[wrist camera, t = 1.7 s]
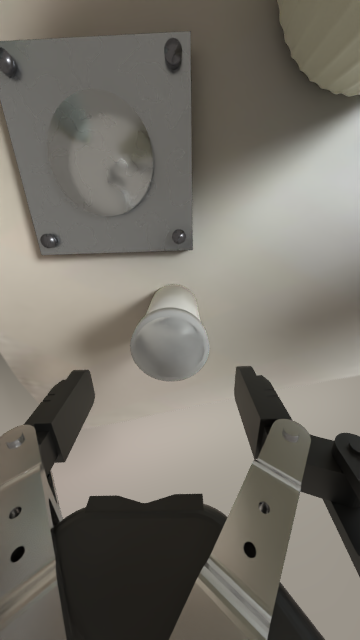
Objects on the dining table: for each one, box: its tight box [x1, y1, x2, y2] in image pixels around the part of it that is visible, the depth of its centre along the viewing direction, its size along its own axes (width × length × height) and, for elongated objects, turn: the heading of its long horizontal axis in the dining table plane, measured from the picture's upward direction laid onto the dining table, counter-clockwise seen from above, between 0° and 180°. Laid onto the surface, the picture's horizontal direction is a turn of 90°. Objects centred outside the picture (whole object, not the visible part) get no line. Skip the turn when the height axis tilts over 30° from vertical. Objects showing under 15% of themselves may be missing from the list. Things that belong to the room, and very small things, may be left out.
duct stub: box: [130, 284, 209, 381], centre depth 20 cm, size 6×6×9 cm
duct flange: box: [0, 31, 193, 255], centre depth 18 cm, size 14×14×2 cm
